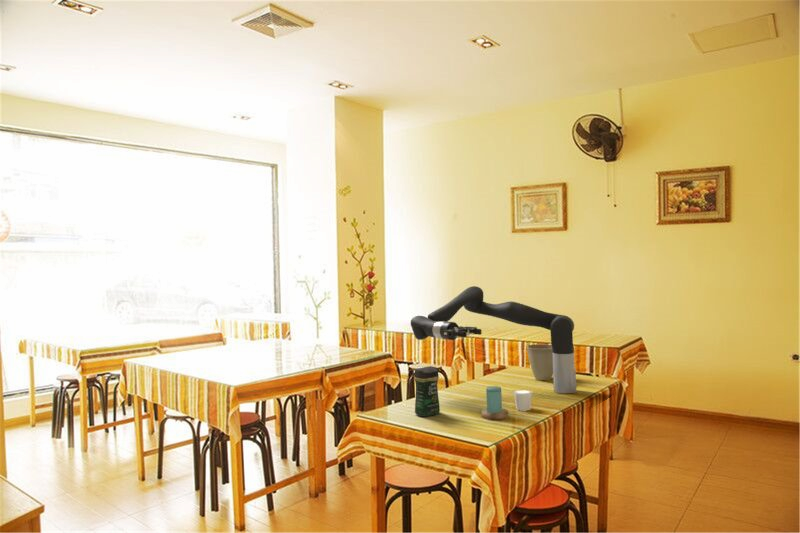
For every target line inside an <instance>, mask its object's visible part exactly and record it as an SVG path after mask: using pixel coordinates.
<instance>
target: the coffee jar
mask: <svg viewBox="0 0 800 533" xmlns="http://www.w3.org/2000/svg"><path fill="white" fill-rule="evenodd" d="M413 376H414V377H413V379H414V382H415V403H414V414H416V415H417V416H418V417H432V416H434V415H438V414H439V413H440V412H441V410H440V400H439V399H440V397H439V392H438V391H439V390H438V388H439V387H438V381H439V378H440V377H439V370H438V368H437V367H436V366H431V365H429V366H424V367H420V368H416V369H414V375H413Z"/></svg>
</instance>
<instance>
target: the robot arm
mask: <svg viewBox="0 0 800 533" xmlns="http://www.w3.org/2000/svg"><path fill="white" fill-rule="evenodd" d="M462 308H464V309H465V310H466V311H468V312H471V313H473V314H477V315H478V314H479V315H485V316H489V317H494V318H497V319H501V320H504V321H507V322H511V323H513V324H518V325H521V326H529V327H537V328H538V327H539V328H543V329H546V330H548V331H550V345H551V346H552V355H553V375H552V377H553V392H555V393H558V394H572V393H573V394H574V393H577V372H576V369H575V347H574V341H573V340H574V339H573V332H574V329H575V323H574V321H573V319H572V318H571V317H569V316H567V315H564V314H558V313H551V312H548V311H543V310H541V309H538V308H535V307H532V306H529V305H526V304H523V303H520V302H516V301H505V302H502V303H496V304H495V303H494V304H493V303H489V302H486V301H484V291H483V289H482V288H481V287H479V286H475V285H473V286H469V287H467V288H466V289H464V290H463V291H461V292H460V293H458V295H457V296H455V297H454V298H453V299H451V300H450V301H449V302H448V303H446V304H444V305H443V306H441V307H440V308H437V309H436V310H434V311H432V312H430V313H428V315H427V317H426V316H424V315H417V316H413V317H412V318H411V320H410V327H411V329H412V332H413V335H414V337H415V339H416V340H419V341H421V340H425V339H427V338H428V337H430V338H437V339H441V340H447V341H448V340H449V341H454V340H456V339H457V338H467V336H470V335H482V329H481V328H478V326H477V327H476V326H467V325H466V326H461V325H460V326H459V325H458V323H456V322H455V321H451V320H452V318H453V317H454V316H456V314H457V313H458V312H459V310H461V309H462Z"/></svg>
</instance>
